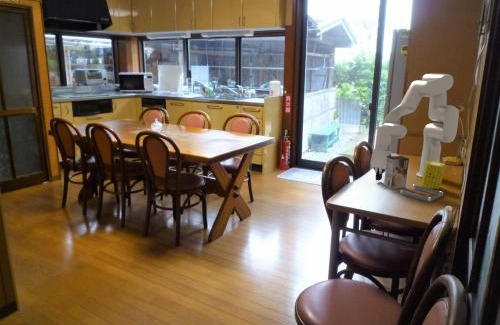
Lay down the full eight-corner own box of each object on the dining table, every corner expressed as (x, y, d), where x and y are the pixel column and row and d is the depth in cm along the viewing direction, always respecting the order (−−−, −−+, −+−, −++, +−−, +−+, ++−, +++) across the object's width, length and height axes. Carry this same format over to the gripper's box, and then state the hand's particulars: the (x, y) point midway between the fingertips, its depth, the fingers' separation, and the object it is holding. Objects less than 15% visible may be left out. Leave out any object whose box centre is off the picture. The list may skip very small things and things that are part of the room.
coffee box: (397, 184, 202) (401, 155, 198) (405, 187, 196) (409, 158, 192) (383, 185, 199) (387, 156, 195) (390, 188, 193) (394, 159, 189)
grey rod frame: (413, 188, 196) (414, 184, 195) (443, 195, 185) (443, 191, 184) (399, 193, 186) (400, 189, 185) (429, 202, 175) (430, 198, 174)
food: (431, 187, 204) (442, 193, 195) (412, 182, 202) (423, 189, 192) (442, 161, 200) (454, 167, 191) (423, 156, 198) (434, 162, 188)
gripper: (399, 149, 197) (394, 182, 201) (373, 144, 207) (369, 175, 212) (391, 150, 192) (387, 184, 196) (366, 145, 203) (362, 177, 207)
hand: (378, 179), depth 204 cm, fingers closed
